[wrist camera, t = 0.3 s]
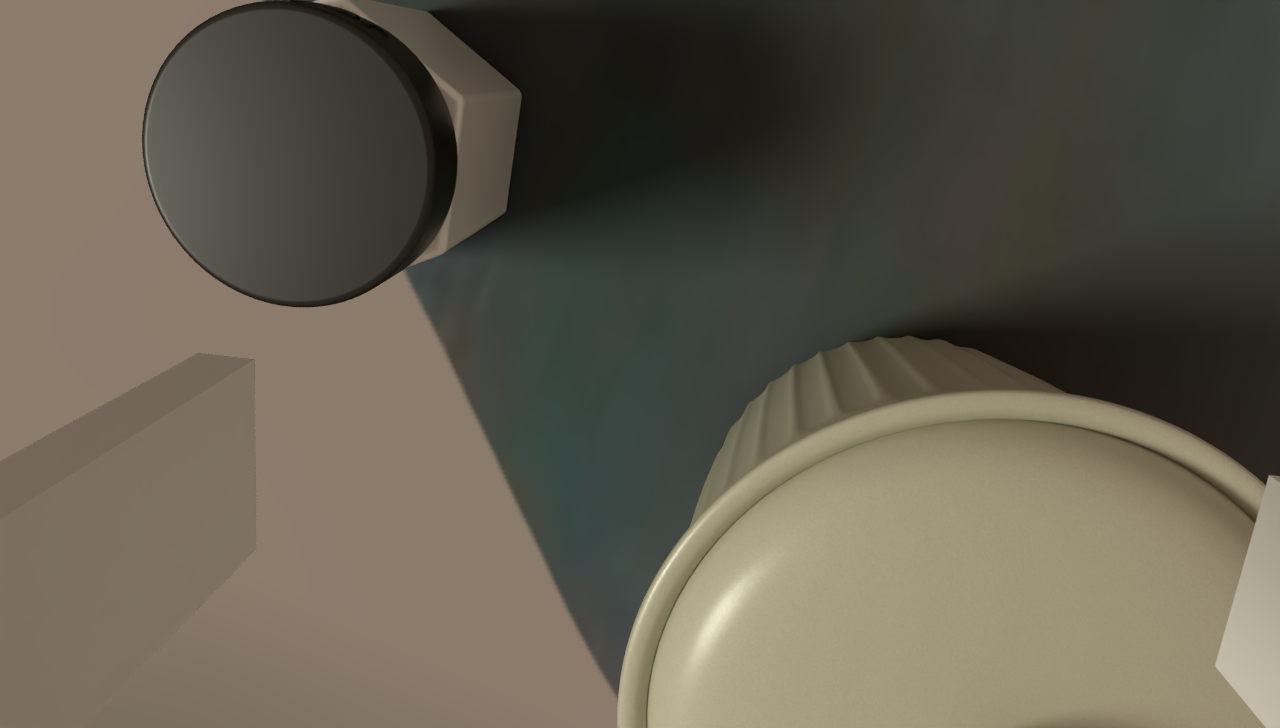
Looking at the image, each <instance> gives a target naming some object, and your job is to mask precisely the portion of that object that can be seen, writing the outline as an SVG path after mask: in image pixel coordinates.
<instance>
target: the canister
mask: <svg viewBox="0 0 1280 728" xmlns="http://www.w3.org/2000/svg"><path fill="white" fill-rule="evenodd" d="M1265 487H1266V485H1265V484H1264V483H1263V482H1262V481H1260V480H1259V479H1258V478H1257V477H1256V476H1255V475H1253V474H1252V473H1251V472H1250V471H1248V470H1247V469H1246V468H1244V467H1243V466H1242V465H1241V464H1239V463H1238V462H1237V461H1235V460H1234V459H1232V458H1231V457H1230V456H1228V455H1227V454H1225V453H1224V452H1222V451H1221V450H1219V449H1217V448H1216V447H1214V446H1213V445H1211V444H1209V443H1208V442H1206V441H1204V440H1203V439H1201V438H1199V437H1197V436H1195V435H1193V434H1191V433H1190V432H1188V431H1186V430H1183V429H1181V428H1179V427H1177V426H1175V425H1173V424H1171V423H1168V422H1166V421H1164V420H1162V419H1159V418H1157V417H1154V416H1151V415H1149V414H1146V413H1143V412H1140V411H1138V410H1135V409H1132V408H1128V407H1125V406H1122V405H1119V404H1115V403H1111V402H1107V401H1103V400H1099V399H1095V398H1090V397H1085V396H1080V395H1074V394H1068V393H1065V392H1064V391H1062V390H1060V389H1058V388H1056V387H1054V386H1052V385H1050V384H1048V383H1046V382H1045V381H1043V380H1041V379H1039V378H1036V377H1034V376H1032V375H1030V374H1028V373H1026V372H1024V371H1021V370H1019V369H1017V368H1015V367H1013V366H1011V365H1008V364H1006V363H1004V362H1002V361H1000V360H998V359H995V358H993V357H991V356H989V355H987V354H985V353H982V352H980V351H978V350H975V349H972V348H967V347H958V346H955V345H953V344H951V343H948V342H946V341H944V340H940V339H934V340H922V339H918V338H915V337H913V336H904V337H901V338H883V337H875V338H874V339H872V340H868V341H863V342H847V343H846V344H844V345H843V346H840V347H838V348H835V349H832V350H828V351H820V352H819V353H817V355H816V356H814V357H813V358H811V359H809V360H807V361H805V362H803V363H800V364H795V365H793V366H792V368H791V369H790V370H789V371H788V372H787V373H785V374H784V375H783V376H781V377H780V378H778V379H776V380H774V381H771V382H770V383H769V384H768V386H767V388H766V389H765V391H764V392H763V393H762V394H761V395H760V396H759V397H757V398H756V399H754V400H752V401H751V402H750V403H749V404H748V406H747V407H746V409H745V412H744V414H743V415H742V417H741V418H740V419H739V421H737V422H736V423H735V424H734V425H733V426H732V427H731V429H730V431H729V433H728V435H727V437H726V440H725V442H724V445H723V447H722V449H721V450H720V451H719V452H718V454H717V456H716V458H715V461H714V463H713V465H712V468H711V470H710V472H709V475H708V477H707V480H706V482H705V485H704V487H703V490H702V492H701V495H700V498H699V501H698V504H697V507H696V509H695V513H694V516H693V519H692V522H691V525H690V527H689V529H688V530H687V531H686V532H685V533H684V535H683V536H682V537H681V539H680V540H679V541H678V543H677V544H676V545H675V547H674V548H673V550H672V551H671V552H670V554H669V555H668V557H667V558H666V560H665V561H664V563H663V565H662V566H661V568H660V570H659V571H658V573H657V575H656V576H655V578H654V580H653V582H652V584H651V586H650V588H649V590H648V592H647V594H646V596H645V598H644V600H643V602H642V605H641V607H640V609H639V612H638V614H637V617H636V620H635V622H634V625H633V628H632V631H631V634H630V637H629V641H628V645H627V648H626V652H625V657H624V661H623V667H622V672H621V679H620V686H619V696H618V717H617V720H618V721H617V722H618V728H1266V727H1265V726H1264V725H1263V724H1262V722H1261V721H1260V720H1259V719H1258V718H1257V716H1256V715H1255V714H1254V713H1253V712H1252V710H1251V709H1250V708H1249V707H1248V705H1247V704H1246V703H1245V702H1244V701H1243V699H1242V698H1241V697H1240V696H1239V695H1238V693H1237V692H1236V691H1235V690H1234V689H1233V687H1232V686H1231V685H1230V684H1229V683H1228V681H1227V680H1226V679H1225V678H1224V676H1223V675H1222V674H1221V673H1220V672H1219V670H1218V669H1217V668H1216V667H1215V664H1216V660H1217V657H1218V653H1219V650H1220V646H1221V643H1222V639H1223V636H1224V632H1225V628H1226V625H1227V621H1228V618H1229V614H1230V611H1231V607H1232V604H1233V600H1234V597H1235V593H1236V590H1237V586H1238V583H1239V579H1240V576H1241V572H1242V569H1243V565H1244V561H1245V558H1246V554H1247V551H1248V547H1249V544H1250V540H1251V537H1252V533H1253V530H1254V526H1255V523H1256V519H1257V516H1258V512H1259V509H1260V505H1261V502H1262V498H1263V495H1264V491H1265Z"/></svg>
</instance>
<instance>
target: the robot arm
mask: <svg viewBox="0 0 1280 728" xmlns="http://www.w3.org/2000/svg"><path fill="white" fill-rule="evenodd" d="M255 454H256V453H255V360H254V359H246V358H237V357H229V356H220V355H212V354H203V353H198V354H195V355H194V356H192V357H190V358H188V359H187V360H185V361H183V362H181V363H179V364H177V365H175V366H173V367H172V368H170V369H168V370H166V371H164V372H162V373H161V374H159V375H157V376H155V377H153V378H152V379H150V380H148V381H146V382H144V383H142V384H140V385H139V386H137V387H135V388H133V389H131V390H130V391H128V392H126V393H124V394H122V395H121V396H119V397H117V398H115V399H113V400H111V401H109V402H108V403H106V404H104V405H102V406H100V407H98V408H97V409H95V410H93V411H91V412H89V413H87V414H86V415H84V416H82V417H80V418H79V419H76V420H75V421H73V422H71V423H69V424H67V425H65V426H64V427H62V428H60V429H58V430H56V431H55V432H53V433H51V434H49V435H47V436H45V437H44V438H42V439H40V440H38V441H36V442H34V443H33V444H31V445H29V446H27V447H25V448H24V449H22V450H20V451H18V452H16V453H14V454H13V455H11V456H9V457H7V458H5V459H3V460H1V461H0V728H84V727H85V726H86V725H87V724H88V723H89V722H90V720H92V719H93V718H94V717H95V716H96V715H97V713H99V711H100V710H101V709H102V708H103V707H104V706H105V705H106V704H107V703H108V702H109V701H110V700H111V699H112V698H113V697H114V696H115V695H116V694H117V693H118V692H119V691H120V690H121V689H122V688H123V687H124V686H125V685H126V683H127V682H128V681H129V680H130V679H131V678H132V677H133V676H134V675H135V674H136V673H137V672H138V671H139V670H140V669H141V668H142V667H143V666H144V665H145V664H146V663H147V662H148V661H149V660H150V659H151V658H152V657H153V655H154V654H155V653H156V652H157V651H158V650H159V649H160V648H161V647H162V646H163V645H164V644H165V643H166V642H167V641H168V640H169V639H170V638H171V637H172V635H174V634H175V633H176V632H177V631H178V629H180V627H181V626H182V625H183V624H184V623H185V622H186V621H187V620H188V619H189V618H190V617H191V616H192V615H193V614H194V613H195V612H196V611H197V610H198V609H199V608H200V607H201V606H202V604H204V602H205V601H206V600H207V599H208V598H209V597H210V596H211V595H212V594H213V593H214V592H215V591H216V590H217V589H218V588H219V587H220V586H221V585H222V584H223V583H224V582H225V581H226V580H227V579H228V578H229V577H230V576H231V575H232V573H233V572H234V571H235V570H236V569H237V568H238V567H239V566H240V565H241V564H242V563H243V562H244V561H245V560H246V559H247V558H248V557H249V556H250V555H251V554H252V553H253V552H254V551H255V550H256V466H255V465H256V456H255ZM1215 667H1216V668H1217V669H1218V670H1219V672H1220V673H1221V674H1222V675H1223V676H1224V678H1225V679H1226V680H1227V681H1228V683H1229V684H1230V685H1231V686H1232V687H1233V689H1234V690H1235V691H1236V692H1237V693H1238V695H1239V696H1240V697H1241V698H1242V699H1243V701H1244V702H1245V703H1246V704H1247V705H1248V707H1249V708H1250V709H1251V710H1252V712H1253V713H1254V714H1255V715H1256V716H1257V718H1258V719H1259V720H1260V721H1261V722H1262V724H1263V725H1264V726H1265V727H1266V728H1280V476H1273V475H1269V477H1268V480H1267V484H1266V487H1265V491H1264V495H1263V498H1262V502H1261V505H1260V509H1259V512H1258V516H1257V519H1256V523H1255V526H1254V530H1253V533H1252V537H1251V540H1250V544H1249V547H1248V551H1247V554H1246V558H1245V561H1244V565H1243V569H1242V572H1241V576H1240V579H1239V583H1238V586H1237V590H1236V593H1235V597H1234V600H1233V604H1232V607H1231V611H1230V614H1229V618H1228V621H1227V625H1226V628H1225V632H1224V636H1223V639H1222V643H1221V646H1220V650H1219V653H1218V657H1217V660H1216V664H1215Z"/></svg>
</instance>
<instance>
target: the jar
mask: <svg viewBox="0 0 1280 728" xmlns="http://www.w3.org/2000/svg"><path fill="white" fill-rule="evenodd" d="M521 99H522V95H521V92H520V90H519V89H518V88H517V87H515V86H514V85H513V84H512V83H511V82H509V81H508V80H507V79H506V78H505V77H504V76H502V75H501V74H500V73H499V72H498V71H496V70H495V69H494V68H493V67H492V66H491V65H489V64H488V63H487V62H486V61H485V60H484V59H482V58H481V57H480V56H479V55H478V54H477V53H475V52H474V51H473V50H472V49H471V48H469V47H468V46H467V45H466V44H465V43H464V42H462V41H461V40H460V39H459V38H458V37H457V36H455V35H454V34H453V33H452V32H451V31H450V30H448V29H447V28H446V27H445V26H444V25H442V24H441V23H440V22H439V21H438V20H437V19H435V18H434V17H433V16H432V15H431V14H430V13H428V12H427V11H423V10H418V9H414V8H409V7H404V6H399V5H395V4H390V3H385V2H380V1H375V0H316V1H313V2H310V1H297V0H283V1H277V0H272V1H265V2H256V3H250V4H245V5H242V6H238V7H235V8H232V9H229V10H226V11H224V12H221V13H219V14H217V15H215V16H213V17H211V18H209V19H208V20H206V21H205V22H203V23H202V24H200V25H198V26H197V27H196V28H194V29H193V30H192V31H191V32H189V33H188V34H187V35H186V36H185V37H184V38H183V39H182V40H181V41H180V42H179V43H178V44H177V45H176V46H175V48H174V49H173V50H172V51H171V53H170V54H169V55H168V57H167V58H166V60H165V61H164V63H163V64H162V66H161V68H160V70H159V72H158V74H157V76H156V78H155V80H154V82H153V85H152V87H151V90H150V93H149V96H148V100H147V104H146V108H145V114H144V120H143V131H142V148H143V159H144V167H145V172H146V176H147V180H148V184H149V187H150V190H151V193H152V197H153V199H154V201H155V204H156V206H157V208H158V211H159V213H160V215H161V216H162V218H163V220H164V222H165V224H166V226H167V227H168V229H169V230H170V232H171V233H172V235H173V236H174V238H175V239H176V240H177V242H178V243H179V244H180V246H181V247H182V248H183V249H184V250H185V251H186V253H187V254H188V255H189V256H190V257H191V258H192V259H193V260H194V261H195V262H196V263H197V264H198V265H200V267H202V268H203V269H204V270H205V271H206V272H208V273H209V274H210V275H212V276H213V277H214V278H215V279H217V280H219V281H220V282H222V283H223V284H225V285H227V286H228V287H230V288H232V289H234V290H236V291H238V292H240V293H242V294H244V295H247V296H249V297H252V298H254V299H257V300H260V301H264V302H267V303H271V304H277V305H281V306H291V307H318V306H326V305H332V304H337V303H340V302H344V301H347V300H350V299H353V298H355V297H358V296H360V295H362V294H364V293H366V292H368V291H370V290H371V289H373V288H375V287H377V286H378V285H380V284H381V283H383V282H385V281H386V280H388V279H389V278H391V277H392V276H394V275H396V274H397V273H399V272H401V271H402V270H404V269H405V268H407V267H409V266H412V265H415V264H418V263H420V262H423V261H426V260H429V259H431V258H434V257H437V256H440V255H442V254H444V253H445V252H447V251H448V250H450V249H451V248H453V247H454V246H456V245H458V244H459V243H461V242H462V241H464V240H465V239H467V238H468V237H470V236H471V235H473V234H474V233H476V232H477V231H479V230H480V229H482V228H483V227H485V226H486V225H488V224H490V223H491V222H493V221H494V220H496V219H497V218H499V217H500V216H502V215H503V214H504V213H505V212H506V208H507V200H508V193H509V185H510V178H511V170H512V163H513V156H514V149H515V141H516V134H517V127H518V120H519V113H520V106H521Z"/></svg>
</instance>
